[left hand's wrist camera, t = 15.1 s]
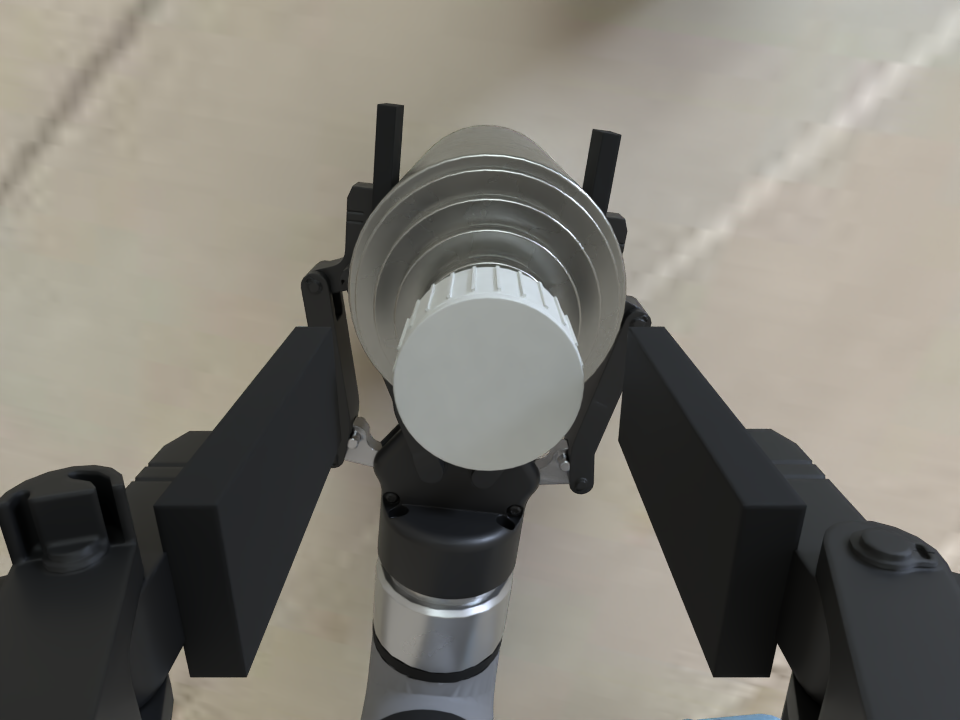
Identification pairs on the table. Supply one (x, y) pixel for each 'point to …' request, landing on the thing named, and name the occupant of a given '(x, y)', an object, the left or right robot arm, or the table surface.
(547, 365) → the cap
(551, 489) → the table surface
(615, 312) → the bottle
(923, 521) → the table surface
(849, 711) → the left robot arm
